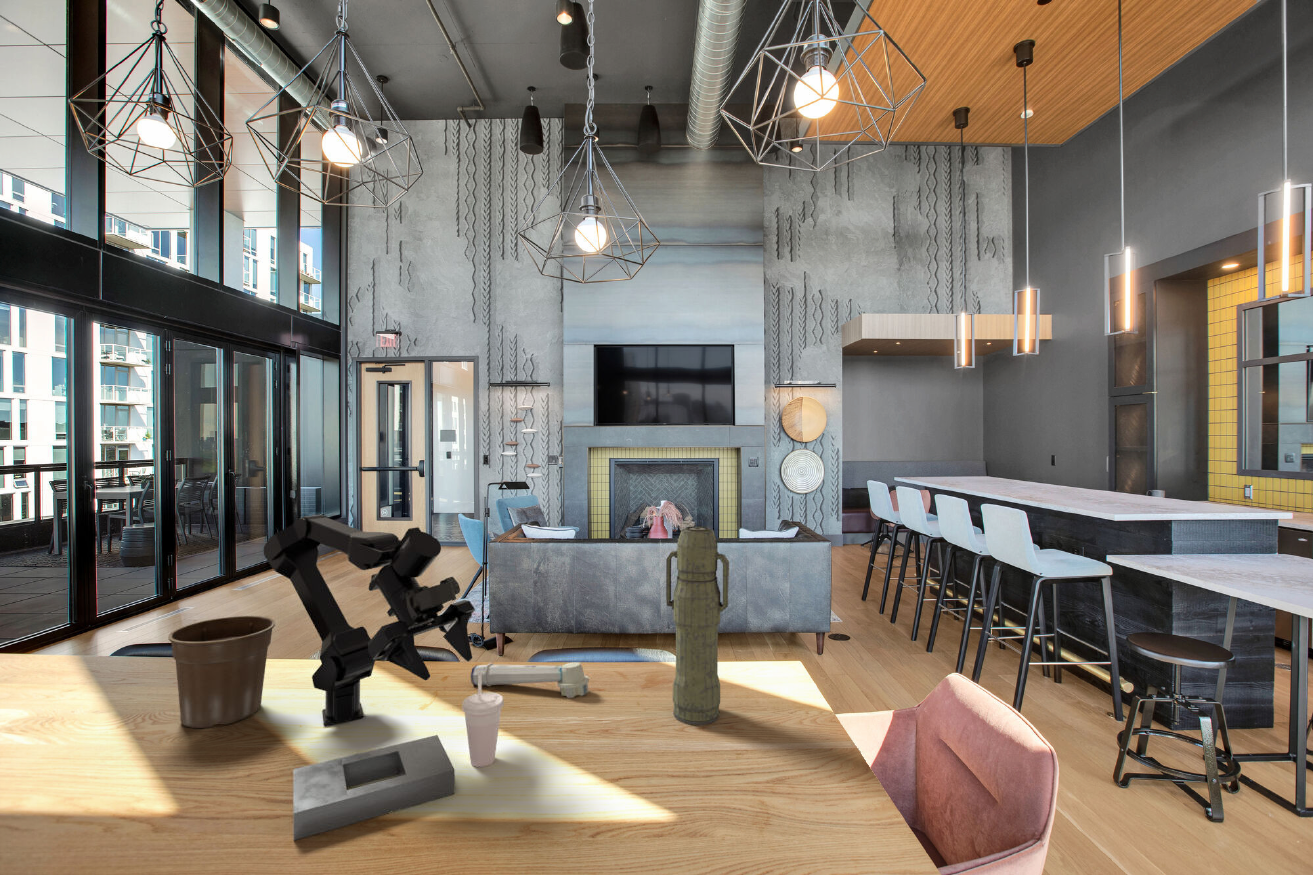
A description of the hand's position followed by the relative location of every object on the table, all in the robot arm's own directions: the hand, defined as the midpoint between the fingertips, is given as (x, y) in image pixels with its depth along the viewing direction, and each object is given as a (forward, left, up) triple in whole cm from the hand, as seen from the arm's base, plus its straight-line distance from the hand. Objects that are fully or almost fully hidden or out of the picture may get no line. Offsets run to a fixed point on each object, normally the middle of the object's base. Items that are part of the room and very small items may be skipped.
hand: (450, 668), depth 100 cm
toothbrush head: (-17, +20, -14) cm, 29 cm away
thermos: (+10, +43, -14) cm, 46 cm away
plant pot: (-35, -33, -14) cm, 50 cm away
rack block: (+7, -12, -13) cm, 20 cm away
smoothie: (+6, +4, -14) cm, 15 cm away
